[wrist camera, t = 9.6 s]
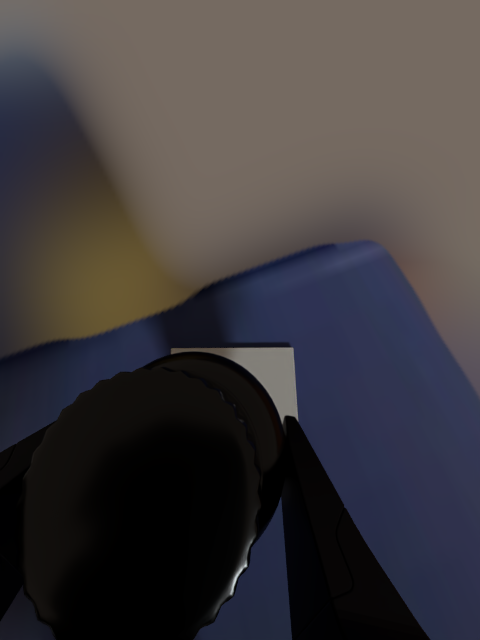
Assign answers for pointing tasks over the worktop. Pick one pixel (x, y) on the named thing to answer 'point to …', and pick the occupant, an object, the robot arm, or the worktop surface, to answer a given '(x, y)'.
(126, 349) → the worktop surface
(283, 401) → the place mat
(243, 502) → the supplement bottle
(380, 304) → the worktop surface
